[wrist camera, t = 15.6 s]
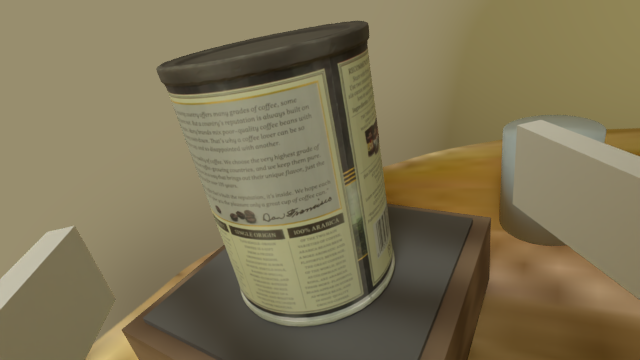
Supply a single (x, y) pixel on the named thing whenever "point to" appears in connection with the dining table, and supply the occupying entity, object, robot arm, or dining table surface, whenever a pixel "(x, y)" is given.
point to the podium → (347, 333)
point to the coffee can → (291, 167)
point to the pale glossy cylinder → (509, 213)
